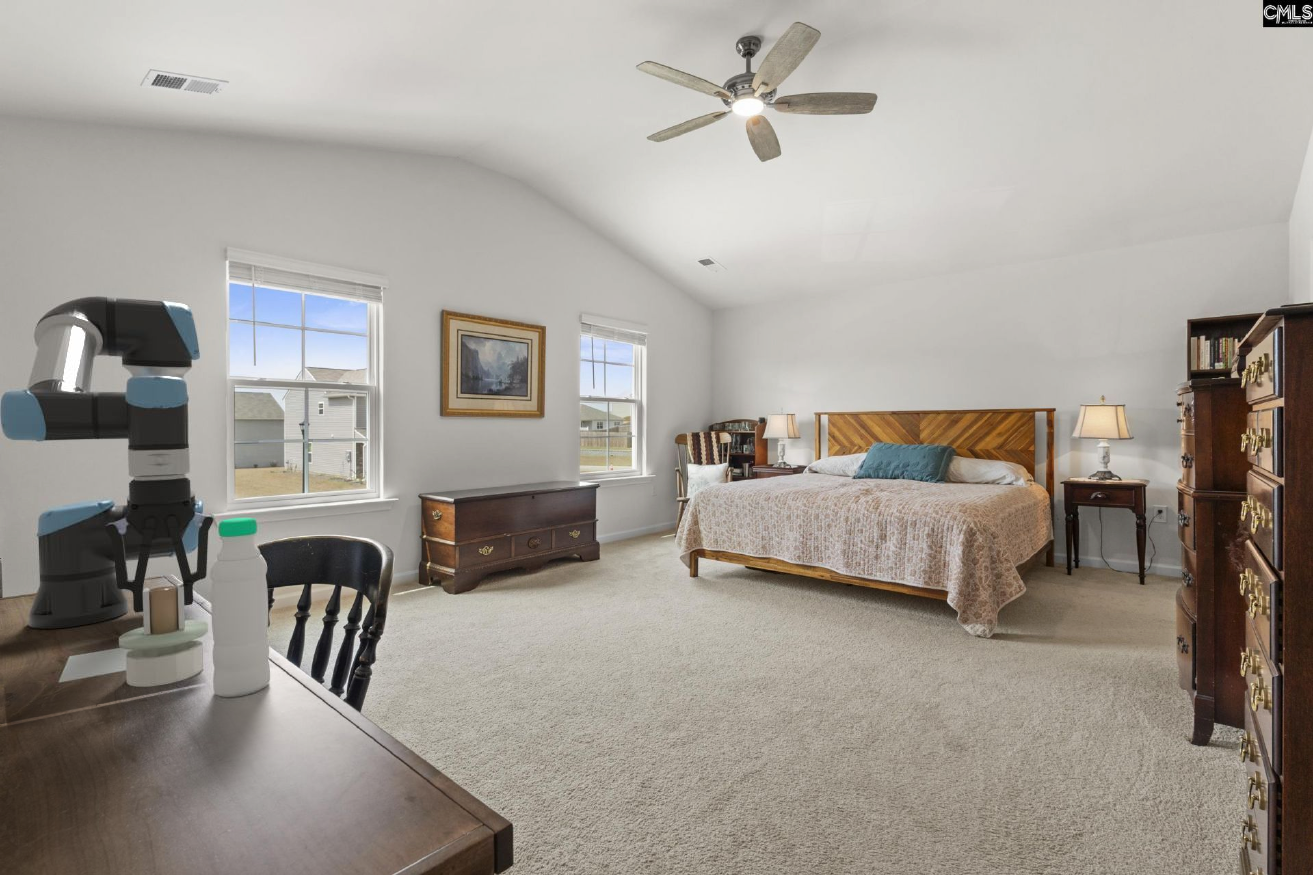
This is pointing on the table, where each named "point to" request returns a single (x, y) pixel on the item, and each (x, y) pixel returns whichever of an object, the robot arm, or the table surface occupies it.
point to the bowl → (164, 664)
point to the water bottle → (239, 612)
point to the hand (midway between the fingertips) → (164, 629)
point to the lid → (163, 624)
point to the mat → (94, 664)
